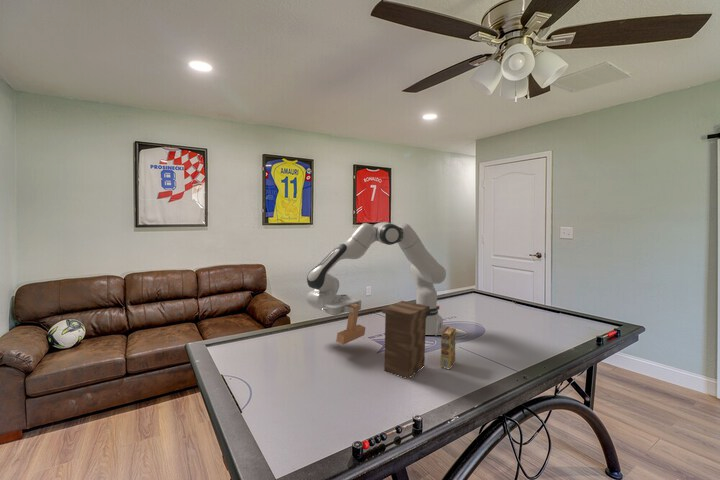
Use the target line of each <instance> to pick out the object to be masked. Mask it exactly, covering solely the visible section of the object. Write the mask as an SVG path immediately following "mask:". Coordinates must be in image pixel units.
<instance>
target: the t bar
mask: <svg viewBox="0 0 720 480" xmlns="http://www.w3.org/2000/svg"><path fill="white" fill-rule="evenodd" d="M352 307H353V308H355V312H348V318H347V324H346V325H347V326H346V329H343V330H341V331H339V332H337V334H336V340H335V341H336V342H337V343H338V344H340V345H343V346H344V345H346V344H348V343H350V342H352V341H354V340H357V339H360V338H362V337H364V336H365V334H366V327H365V326H364V325H361V324H358V318H359V316H358V315H359V312H360V310H359V305H357V304H351V305H350V308H352Z"/></svg>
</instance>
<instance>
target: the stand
mask: <svg viewBox="0 0 720 480" xmlns="http://www.w3.org/2000/svg"><path fill="white" fill-rule="evenodd" d="M427 311H429V306H427V305H422V304H416V302H411V301H410V302H409V301H405V300H401V301H399V302H395V303H392V304H390V305H388V306H387V305H386V306H385V307H383V308H381V313H382V314H385V316H384V317H385V318H384V319H385V322H384V358H383V359H384V360H383V362H384V364H383V367H384V368H383V371H384V372H386V373H388V372H389V374H391V373H392V375H394V374H396V375H395V376H397V375H399V376H398V377H400V376H402V377H401V378H403V377H406V378H409V377H410V376H412V375H413V374H414V373H416V372H417V371H418V370H419V369H421V368H422V367H423V366H424V367H425V357H426V356H425V353H426V336H425V329H426V312H427ZM424 367H423V368H424ZM423 368H422V369H423ZM422 369H421V370H422ZM419 371H420V370H419ZM419 371H418V372H419ZM418 372H417V373H418ZM417 373H416V374H417ZM414 375H415V374H414ZM414 375H413V376H414ZM413 376H412V377H413ZM406 378H405V379H406ZM410 378H411V377H410ZM410 378H409V379H410Z"/></svg>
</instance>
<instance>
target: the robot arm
mask: <svg viewBox="0 0 720 480" xmlns="http://www.w3.org/2000/svg"><path fill="white" fill-rule="evenodd" d="M375 242H379V243H380V244H385V245H387V246H388V245H389V246H390V245H391V246H392V245H395V244H398V245H399V248H400V250H401V251H402V252H403V255H404V256H405V257H406V258H407V260H408V261H409V262H410V263H411V265H410V267H409V269H410V273H411V275H412V278H413V281H414V286H415V291H416V294H415V295H416V296H415V297H416V299H415V303H416V304H422V305H427V306H429V311H427V312H426V329H425V335H435V336H437V335H441V332H443V330H444V329H445V328H446V327H448V326H447V325H445V324H444V323H443V322H444V320H443V317H442V316H441V315H440V314H439V310H440V305H438V292H437V290H436V288H435V286H434V284H441V283H443V282H444V281H445V280H446V278H447V270H446V269H445V267H444V266H443V265H441V263H439V261H437V260H436V259H435V258H434V256H433V255H432V254H431V253H430V252H429V251H428V249H427V248H426V246H425V245H424V243H423V242H422V240H421V238H420V237H419V236H418V234H417V232H416V231H415V230H414V229H413V227H411V225H410V224H408V223H400V224H399V225H397V224H394V223H392V222H388V221H378V222H376V223H374V224H370V223H367V222H363V223H362V224H360V225H359V226H358V227H357V228H356V229H355V230H354V231H353V232H352V234H351V235H350V236H349V237H348V239H347V240H346V241H344V242H342V243H339V244H338V245H337V246H335V247H334V248H333V249H332V250H331V251H330V252H329V253H328V254H327V255H326V256H325V257H324V258H323V259H322V260H321V262H320V263H318V264H317V265H316V266H314V267H313V268H312V269H311V270H309V272H308V274H307V275H306V283H307V285H308V287H309V288H311V289H313V290H311V291H309V292H308V293H307V296H306V301H307V304H308V305H309V306H310V307H311V308H313V309H315V310H319V311H324V312H325V313H326V314H328V315H331V316H339V315H341V314H344V313H349V312H355V308H353V307H352V308H350V305H351V304H357V305H359V311H361V310H362V300H361V298H357V297H354V296H349V295H348V294H337V293H338V291H339V288H340V282H339V279H338V278H336V277H335V276H334V275H331V274H330V273H329V272H330V270H332V269H333V268H334V266H335V265H336V264H337V263H338V262H340V261H341V260H345V259H346V260H358V259H360V258H362V257H363V256H364V255H365V254H366V253H367V251H368V250H369V249H370V247H371V245H373V244H374V243H375Z"/></svg>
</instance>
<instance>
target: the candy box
mask: <svg viewBox="0 0 720 480" xmlns="http://www.w3.org/2000/svg"><path fill="white" fill-rule="evenodd" d="M456 328H457V327H451V326H447V327H446V328H445V329H444V330H443V332H441V339H440V368H441V367H445V368H450V367H451V366H452V365H453V366H454V364H455V363H456V339H457V338H456V336H457V335H456V334H457V333H456V332H457V330H456ZM454 362H455V363H454ZM453 363H454V364H453ZM453 366H452V367H453ZM452 367H451V368H452ZM445 368H444V369H445ZM451 368H450V369H451Z"/></svg>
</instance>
